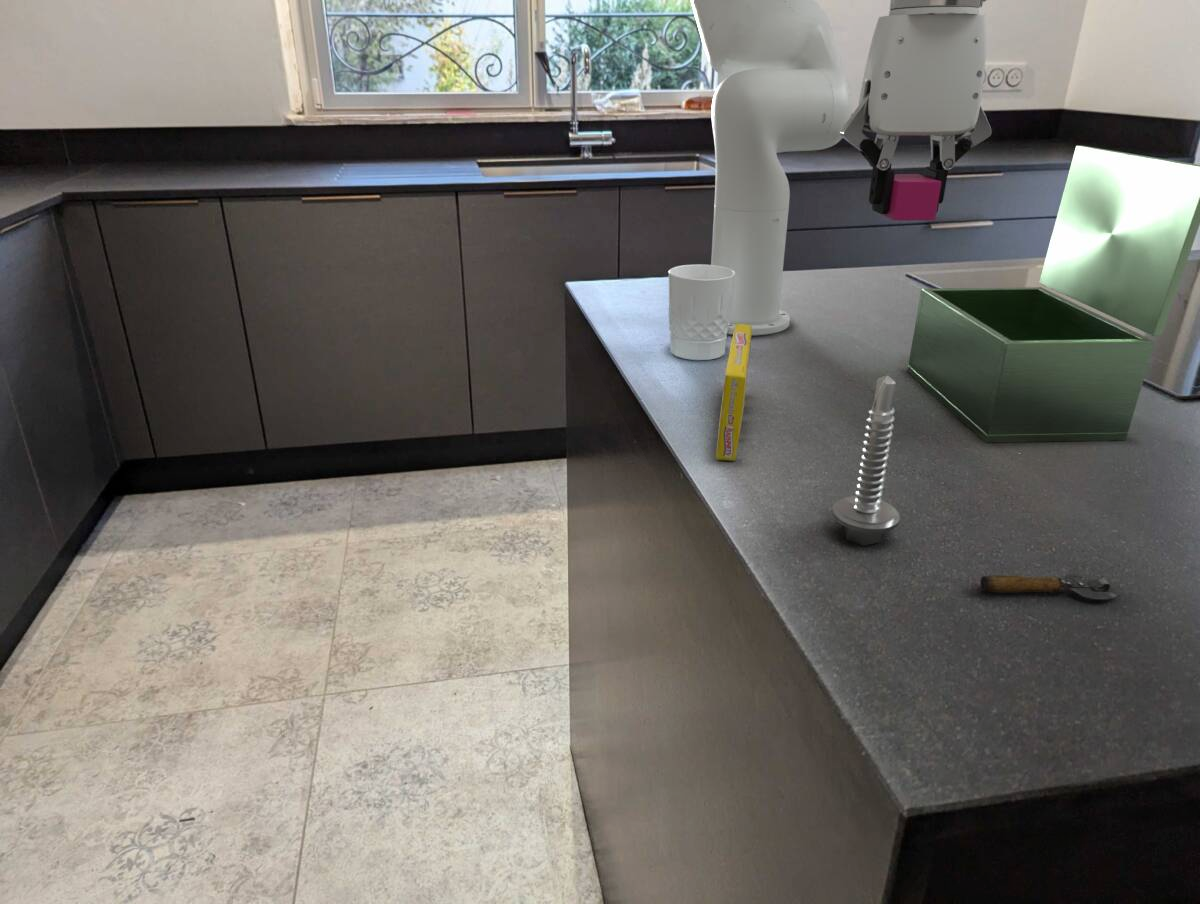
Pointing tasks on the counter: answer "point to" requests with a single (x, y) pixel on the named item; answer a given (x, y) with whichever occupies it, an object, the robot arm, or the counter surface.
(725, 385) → the candy box
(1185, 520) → the counter surface
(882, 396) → the screw
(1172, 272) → the bin lid
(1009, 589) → the can opener
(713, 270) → the white cup
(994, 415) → the bin
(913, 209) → the block
